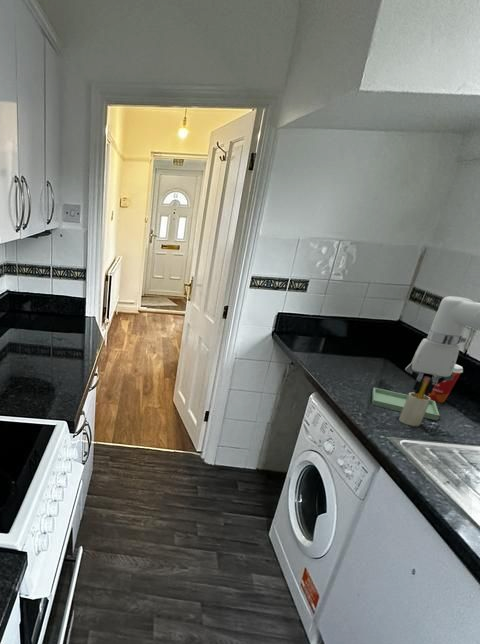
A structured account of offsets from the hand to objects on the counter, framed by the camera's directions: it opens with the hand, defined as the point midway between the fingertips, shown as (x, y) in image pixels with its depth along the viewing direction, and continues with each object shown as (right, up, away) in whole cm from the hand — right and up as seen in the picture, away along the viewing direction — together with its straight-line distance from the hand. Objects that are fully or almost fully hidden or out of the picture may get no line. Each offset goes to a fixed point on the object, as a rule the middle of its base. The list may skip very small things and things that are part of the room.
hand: (421, 392), depth 132 cm
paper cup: (+24, -3, +24) cm, 34 cm away
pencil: (-1, -10, +4) cm, 11 cm away
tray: (+7, -5, +18) cm, 20 cm away
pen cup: (-1, -10, +4) cm, 11 cm away
